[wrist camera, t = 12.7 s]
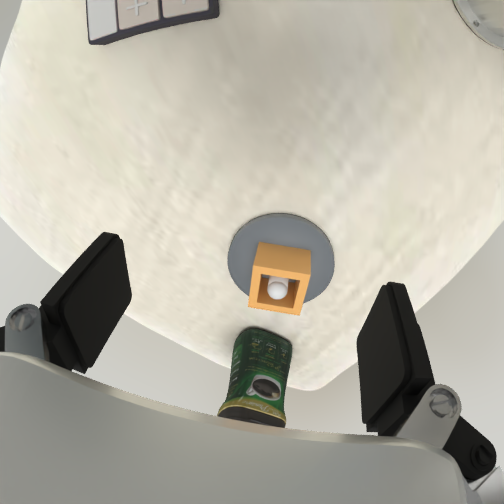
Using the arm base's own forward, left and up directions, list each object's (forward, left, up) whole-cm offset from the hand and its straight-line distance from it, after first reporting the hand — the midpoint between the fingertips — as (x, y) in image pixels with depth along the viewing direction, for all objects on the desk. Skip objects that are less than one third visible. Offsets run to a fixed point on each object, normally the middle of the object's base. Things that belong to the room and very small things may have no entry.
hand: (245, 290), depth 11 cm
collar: (-2, +17, -25) cm, 30 cm away
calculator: (+17, -17, -27) cm, 36 cm away
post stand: (-2, +17, -26) cm, 31 cm away
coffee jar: (-2, +35, -26) cm, 44 cm away
